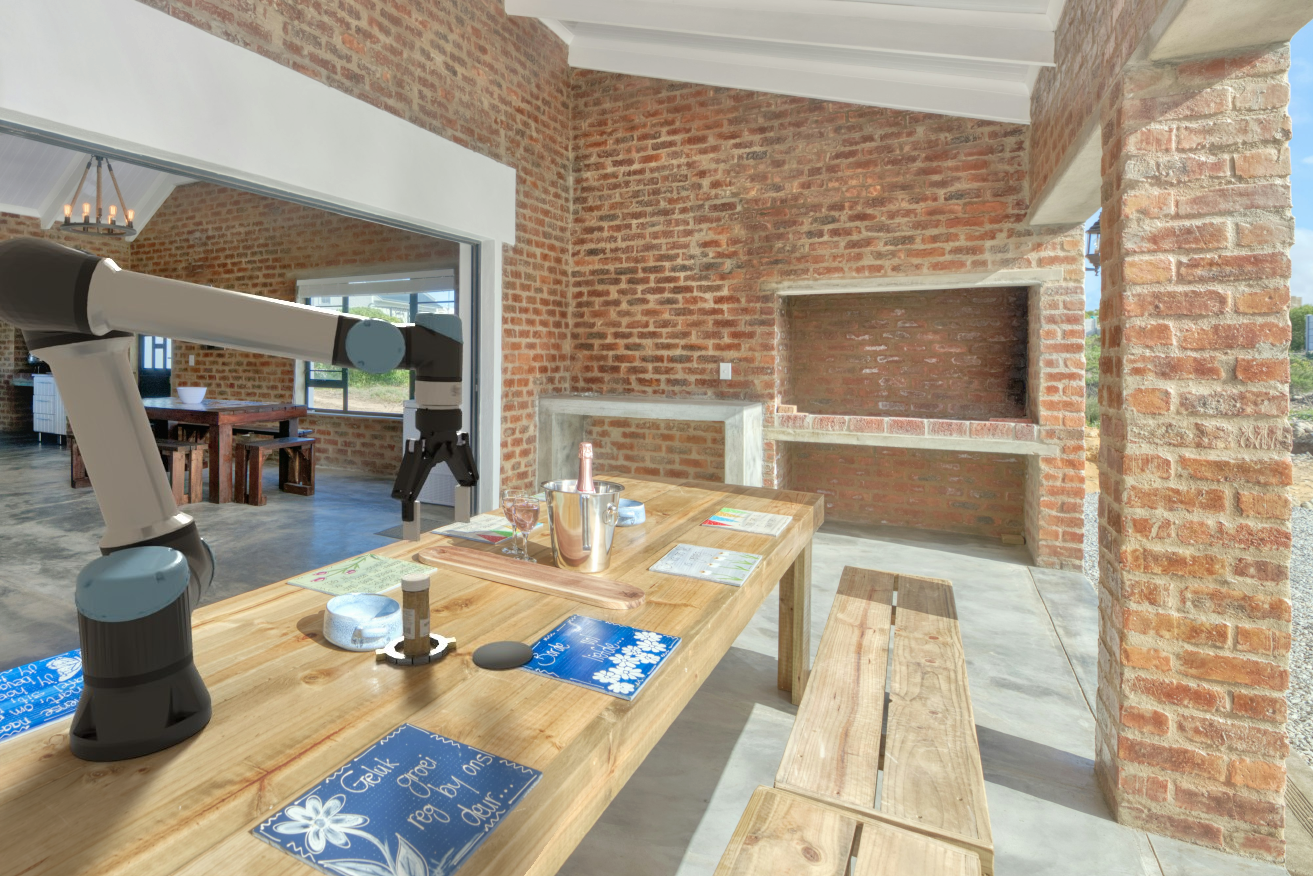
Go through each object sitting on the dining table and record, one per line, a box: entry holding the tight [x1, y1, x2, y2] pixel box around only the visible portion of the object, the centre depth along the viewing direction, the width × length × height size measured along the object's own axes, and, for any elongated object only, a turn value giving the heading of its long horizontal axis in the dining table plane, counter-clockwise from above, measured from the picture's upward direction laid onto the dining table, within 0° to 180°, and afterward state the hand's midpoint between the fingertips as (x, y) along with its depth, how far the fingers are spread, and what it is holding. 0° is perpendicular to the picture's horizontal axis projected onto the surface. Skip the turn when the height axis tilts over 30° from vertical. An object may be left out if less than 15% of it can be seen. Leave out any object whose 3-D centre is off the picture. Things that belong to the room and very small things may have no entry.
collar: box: [375, 633, 457, 667], centre depth 116 cm, size 13×10×1 cm
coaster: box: [472, 640, 534, 670], centre depth 116 cm, size 10×10×1 cm
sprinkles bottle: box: [400, 572, 432, 655], centre depth 115 cm, size 5×5×13 cm
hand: (438, 530), depth 116 cm, fingers open, 13 cm apart
